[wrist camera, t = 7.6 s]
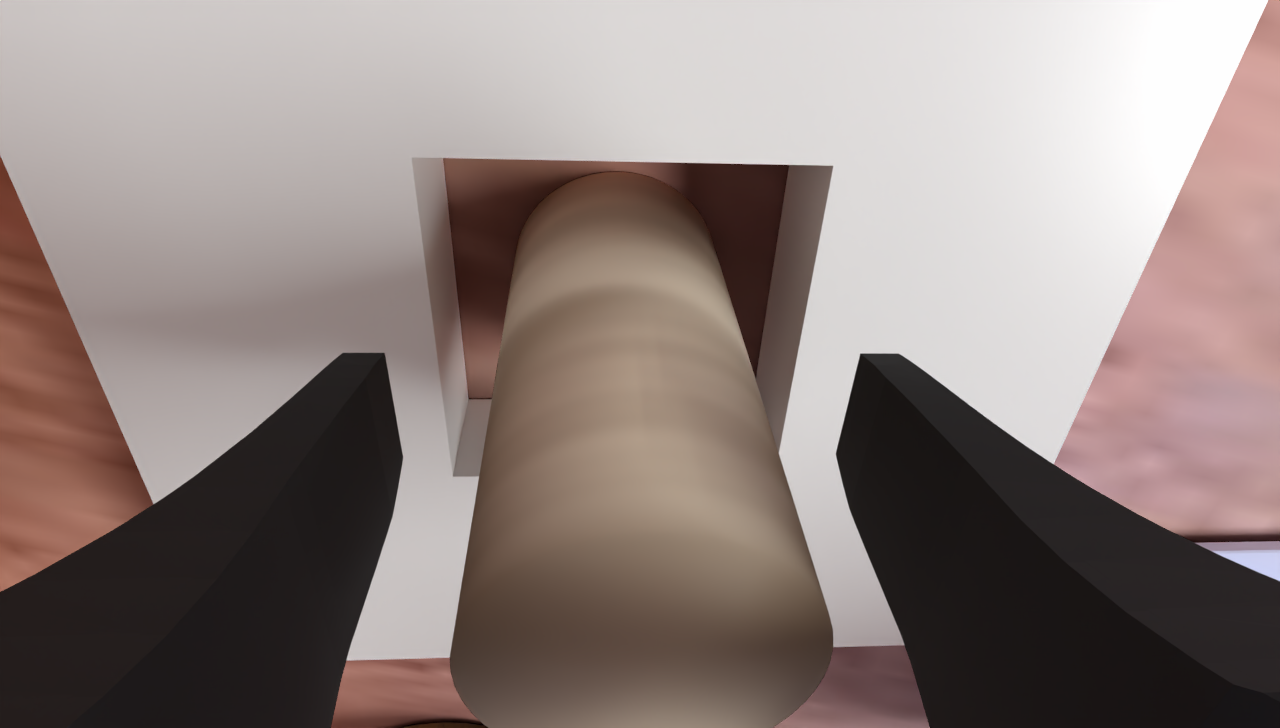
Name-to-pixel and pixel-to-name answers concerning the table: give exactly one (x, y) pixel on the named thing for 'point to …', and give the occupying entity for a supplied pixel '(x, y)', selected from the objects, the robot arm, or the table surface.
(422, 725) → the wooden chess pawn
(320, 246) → the socket
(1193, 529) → the table surface
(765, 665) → the peg
